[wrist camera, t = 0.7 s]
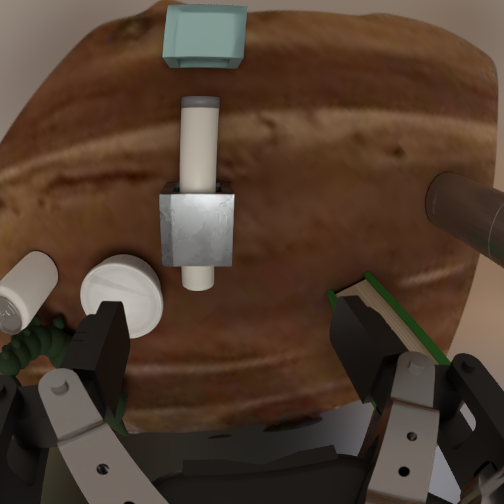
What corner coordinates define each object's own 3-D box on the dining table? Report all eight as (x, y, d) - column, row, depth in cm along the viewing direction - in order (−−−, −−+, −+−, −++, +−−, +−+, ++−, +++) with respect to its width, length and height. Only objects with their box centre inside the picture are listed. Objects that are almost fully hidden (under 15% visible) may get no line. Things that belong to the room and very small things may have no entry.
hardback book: (326, 291, 45) (403, 416, 24) (368, 271, 45) (463, 377, 23) (349, 361, 53) (403, 465, 31) (383, 343, 53) (447, 439, 31)
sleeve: (229, 182, 37) (234, 194, 31) (227, 243, 40) (231, 266, 34) (167, 182, 36) (159, 194, 30) (168, 243, 39) (162, 266, 33)
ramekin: (150, 236, 38) (142, 253, 33) (178, 306, 43) (176, 329, 38) (79, 259, 38) (65, 277, 33) (111, 322, 42) (103, 345, 38)
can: (17, 260, 36) (-23, 302, 25) (43, 242, 36) (1, 284, 25) (40, 294, 39) (6, 342, 28) (67, 280, 39) (33, 329, 28)
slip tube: (219, 99, 32) (220, 96, 28) (213, 274, 40) (215, 290, 37) (183, 99, 31) (180, 96, 27) (182, 274, 40) (180, 291, 36)
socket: (240, 24, 29) (247, 6, 23) (236, 68, 31) (243, 58, 25) (174, 23, 27) (168, 5, 22) (170, 68, 30) (162, 57, 24)
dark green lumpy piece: (31, 309, 41) (117, 408, 50) (-27, 378, 23) (97, 487, 32) (63, 287, 41) (154, 396, 49) (1, 360, 23) (139, 483, 31)
